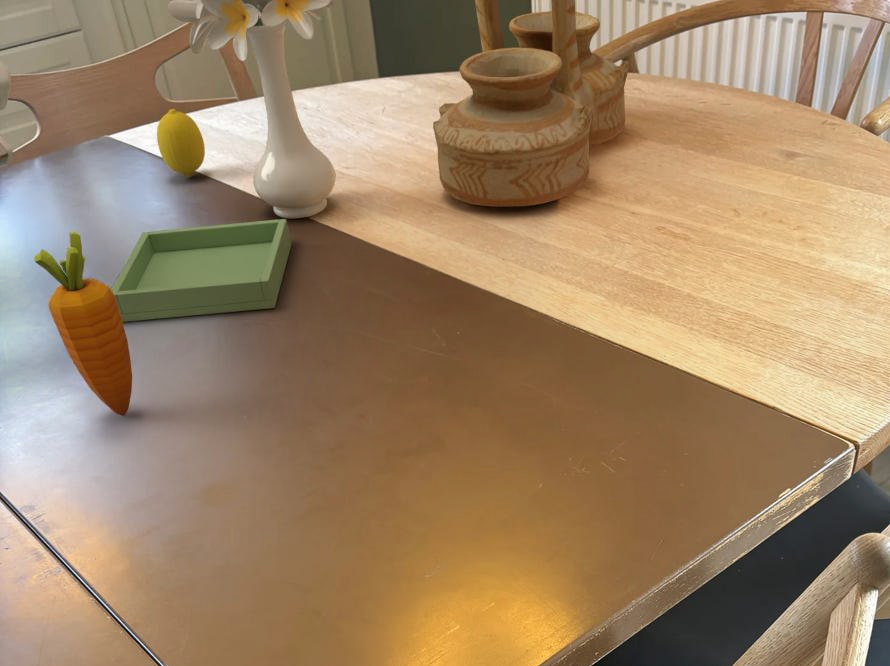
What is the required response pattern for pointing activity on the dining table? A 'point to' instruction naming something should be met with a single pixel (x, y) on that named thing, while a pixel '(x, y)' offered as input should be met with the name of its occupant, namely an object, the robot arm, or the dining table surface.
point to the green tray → (203, 270)
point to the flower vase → (269, 93)
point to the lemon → (180, 142)
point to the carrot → (90, 327)
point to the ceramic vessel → (529, 110)
